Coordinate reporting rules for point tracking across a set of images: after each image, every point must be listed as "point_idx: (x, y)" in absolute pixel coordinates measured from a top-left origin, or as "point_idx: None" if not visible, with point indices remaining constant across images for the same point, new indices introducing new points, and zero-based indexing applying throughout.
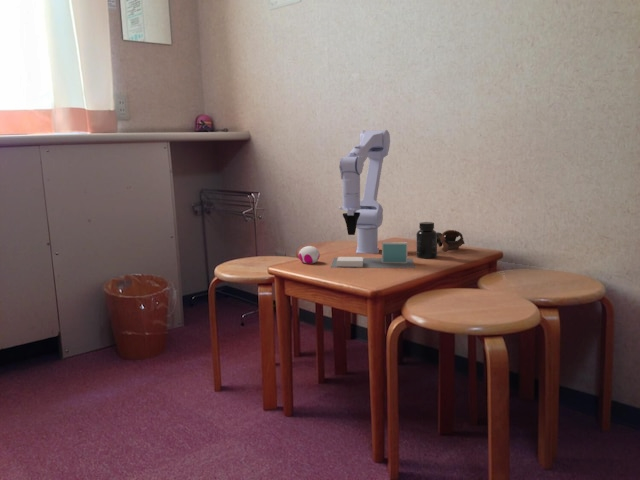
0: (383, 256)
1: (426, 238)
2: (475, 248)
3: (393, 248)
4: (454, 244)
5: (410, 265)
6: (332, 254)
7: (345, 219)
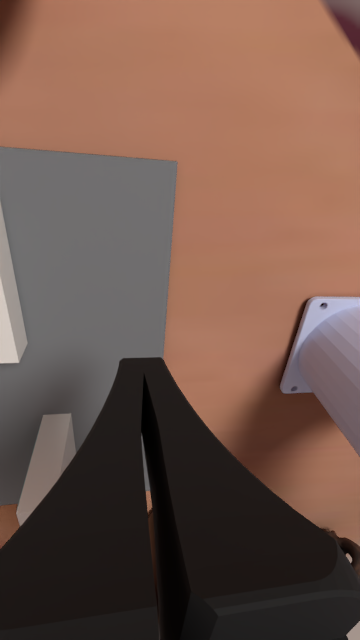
0: (35, 446)
1: None
2: None
3: None
4: None
5: (11, 495)
6: (343, 148)
7: (21, 533)
